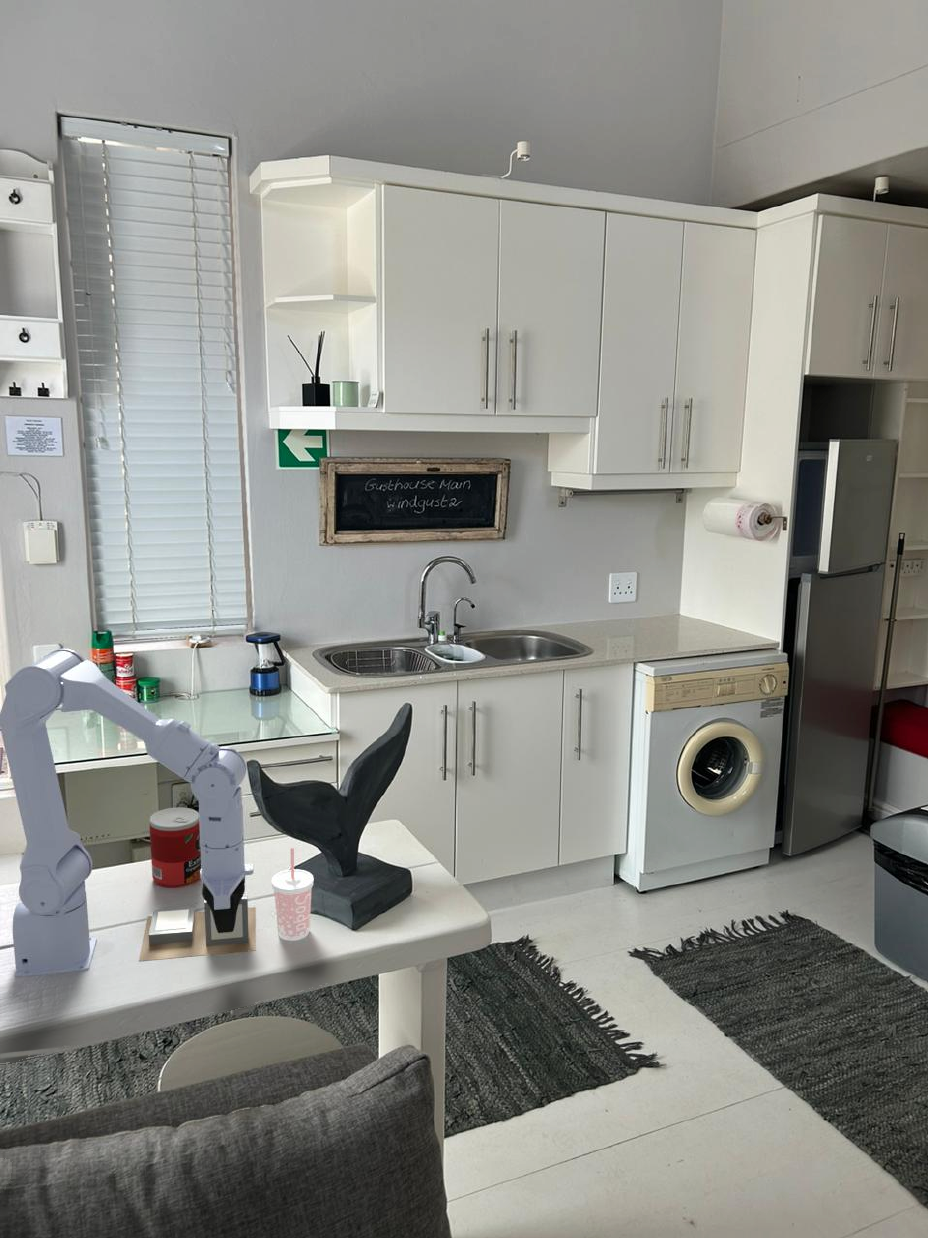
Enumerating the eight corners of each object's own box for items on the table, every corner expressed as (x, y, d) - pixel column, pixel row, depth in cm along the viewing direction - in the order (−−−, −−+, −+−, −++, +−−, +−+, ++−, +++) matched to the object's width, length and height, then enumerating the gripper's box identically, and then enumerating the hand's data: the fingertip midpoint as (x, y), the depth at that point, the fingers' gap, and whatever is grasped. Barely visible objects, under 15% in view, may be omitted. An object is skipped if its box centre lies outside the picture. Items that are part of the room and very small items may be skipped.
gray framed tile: (206, 946, 139) (204, 902, 137) (206, 940, 141) (204, 896, 139) (248, 942, 140) (247, 899, 139) (248, 936, 142) (247, 893, 140)
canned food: (195, 891, 155) (192, 828, 152) (145, 889, 155) (141, 826, 153) (208, 868, 162) (205, 807, 160) (161, 866, 163) (157, 806, 160)
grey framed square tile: (148, 934, 139) (153, 909, 145) (149, 945, 139) (153, 919, 146) (191, 931, 140) (194, 906, 147) (192, 941, 140) (195, 916, 147)
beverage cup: (278, 949, 140) (276, 860, 136) (268, 928, 145) (266, 842, 142) (319, 940, 142) (318, 853, 139) (308, 920, 147) (307, 835, 144)
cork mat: (138, 963, 135) (138, 961, 135) (147, 918, 147) (147, 916, 147) (255, 952, 139) (255, 950, 138) (255, 909, 150) (255, 907, 150)
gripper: (252, 862, 124) (255, 956, 127) (252, 814, 138) (255, 900, 141) (195, 866, 123) (200, 962, 126) (201, 818, 137) (205, 905, 140)
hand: (225, 930), depth 134 cm, fingers closed
